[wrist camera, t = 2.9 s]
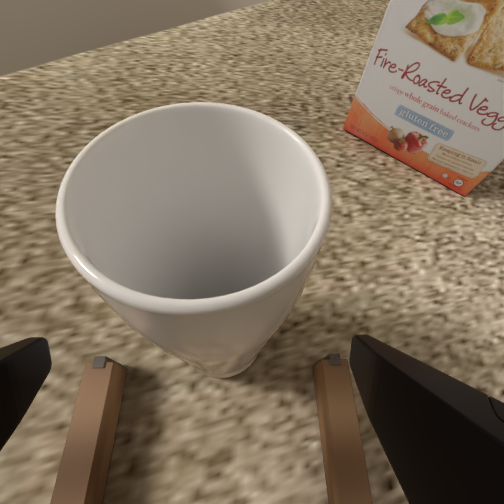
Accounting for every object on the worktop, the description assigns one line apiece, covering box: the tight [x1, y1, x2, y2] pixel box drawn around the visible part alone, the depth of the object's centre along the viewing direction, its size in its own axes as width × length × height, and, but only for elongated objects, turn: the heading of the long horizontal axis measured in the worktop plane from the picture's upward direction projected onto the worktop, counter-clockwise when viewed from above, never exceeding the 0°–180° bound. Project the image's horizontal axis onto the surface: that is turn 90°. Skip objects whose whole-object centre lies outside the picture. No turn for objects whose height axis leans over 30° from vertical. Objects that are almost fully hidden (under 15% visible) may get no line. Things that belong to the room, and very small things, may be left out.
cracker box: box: [343, 0, 504, 196], centre depth 22 cm, size 14×6×21 cm, turn 49°
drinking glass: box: [56, 102, 332, 378], centre depth 14 cm, size 7×7×15 cm
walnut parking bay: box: [50, 354, 373, 504], centre depth 15 cm, size 13×16×3 cm
